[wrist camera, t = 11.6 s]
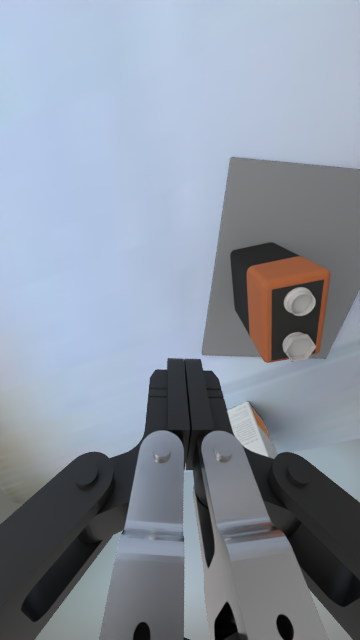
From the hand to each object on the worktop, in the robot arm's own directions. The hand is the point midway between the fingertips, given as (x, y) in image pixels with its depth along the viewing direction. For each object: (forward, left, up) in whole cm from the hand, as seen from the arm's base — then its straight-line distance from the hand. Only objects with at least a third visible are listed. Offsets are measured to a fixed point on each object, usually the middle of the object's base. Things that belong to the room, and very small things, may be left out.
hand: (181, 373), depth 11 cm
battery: (0, +8, -14) cm, 16 cm away
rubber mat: (0, +12, -15) cm, 19 cm away
